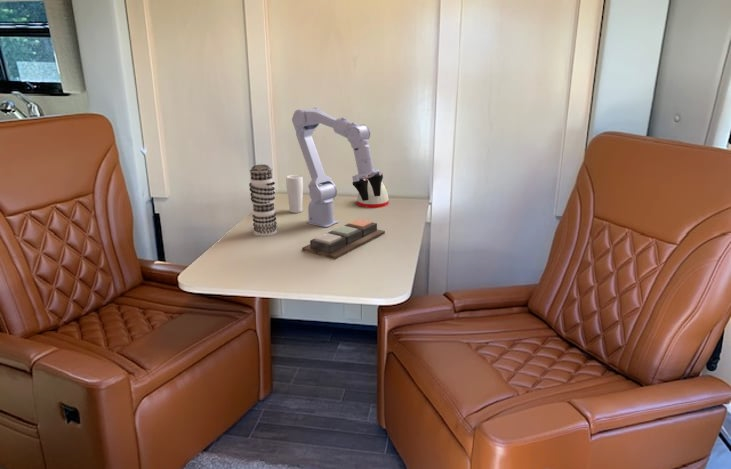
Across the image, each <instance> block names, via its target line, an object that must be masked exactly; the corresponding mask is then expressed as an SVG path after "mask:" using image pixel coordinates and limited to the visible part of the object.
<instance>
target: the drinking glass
mask: <svg viewBox="0 0 731 469" xmlns="http://www.w3.org/2000/svg"><path fill="white" fill-rule="evenodd" d="M285 178H286V180H285V181H286V191H287V192H286V193H287V197H288V198H287V199H288V205H289V212H290V213H292V214H299V213H302V212H303V199H304V198H303V196H304V195H303V194H304V179H303V175H301V174H289V175H287V176H286V177H285Z"/></svg>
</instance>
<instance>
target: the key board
mask: <svg viewBox="0 0 731 469" xmlns="http://www.w3.org/2000/svg"><path fill="white" fill-rule="evenodd" d="M343 226H347V227H352V228H356V229H358V231H357V232H355V233H353V234H351V235H349V236H344V235H340V234H335V233H332V230H331V231H328V232H327V233H329V234H333V235H338V236H341V237H342V239H340V240H338V241H336V242H334V243H332V244H326V243H322V242H318V241H315V238H313V239H310V241H309V244H307V245H305V246H303V247H301V251H303V252H306V253H309V254H313V255H318V256H321V257H324V258H329V259H332V260H336V259H338V258H341V257H342V256H344V255H346V254H348V253H350V252H352V251H354V250H356V249H358V248H360V247H362V246H363V245H366V244H367V243H369V242H372V241H373V240H375V239H377V238H379V237H381V236H383V235H385V233H386V231H385V230H381V229H378V223H377V222H373V224H372V225H370V226H368V227H366V228H363V229H362V228H358V227H353V226H348V223H346V224H344V225H343Z"/></svg>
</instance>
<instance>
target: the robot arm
mask: <svg viewBox="0 0 731 469" xmlns="http://www.w3.org/2000/svg"><path fill="white" fill-rule="evenodd" d="M292 114H293V115H292V117H291V122H292V125H293V128H294V131H295V134H296V135H295V136H296V138H297V141H298V142H297V143H298V145H299V147H300V150H301V152H302V155H303V159H304V161H305V164H306V166H307V167H306V168H307V170H308V172H309V175H310V178H311V180H310V182H309V183H308V185H307V186H308V190H309V198H310V199H311V200H310V202H308V207H307V210H308V212H307V213H308V221H307V224H309V225H314V226H319V227H322V228H328V227H331V226H333V225H335V224H337V223H339V220H336V219H334V218H335V216H334V201H335V198H336V196H337V195H338V188H337V185H335V183H334V182H333V179H332V177H330V176H328V175H327V174H326V173H325V170H324V167H323V164H322V162H321V159H320V154H319V152H318V150H317V147H316V145H315V141H314V139H313V134H314V132H315V131H316V130H317V128H318V127H319V126H320V124H321V125H324V126H326V127H328V128H331V129H332V130H333V131H334V133H336V134H337V135H340V136H341V137H343V138H346V139H347V141H348V142H349V143H350V146H351V148H352V149H353V150H352V151H353V154H354V159H355V160H354V161H355V162H356V163H355V165H356V169H357V173H358V174H356V175H352V186H353V187H354V188H355V189H356V191H357V192H358V193H359V194H360V196H361V198H362V200H363V201H366V200H369V197H368V180H369V182H370V184H371V186H372V189H373V193H374V196H375V197H376V196H380V195H381V182H382V183H383V179H384V175H383V174H382V173H381V169H380V168H379V169H375V168H374V162H373V158H372V153H371V152H372V151H371V147H370V143H369V139H370V138H371V131H370V128H369V127H368V126H367V125H366V124H360V125H358V124H357V122H354V121H353V122H352V121H350V120H348V118H347V117H345V116H344V117H338V118H335V117H333V116H332V115H330V114H329V113H326V112H324V111H323V110H322V109H321V108H317V107H313V108H305V109H296V110H295V111H294V113H292ZM381 174H382V175H381ZM368 175H371V176H368ZM369 177H371V178H369ZM366 178H368V180H365V179H366Z"/></svg>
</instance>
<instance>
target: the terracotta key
mask: <svg viewBox="0 0 731 469" xmlns="http://www.w3.org/2000/svg"><path fill="white" fill-rule="evenodd" d="M373 223H374V221H372V220H365V219H361V218H357V219H355V220H353V221H350V222H348V223H347V224H348V226H353V227H358V228H362V229H363V228H366V227H368V226H370V225H372V224H373Z"/></svg>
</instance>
